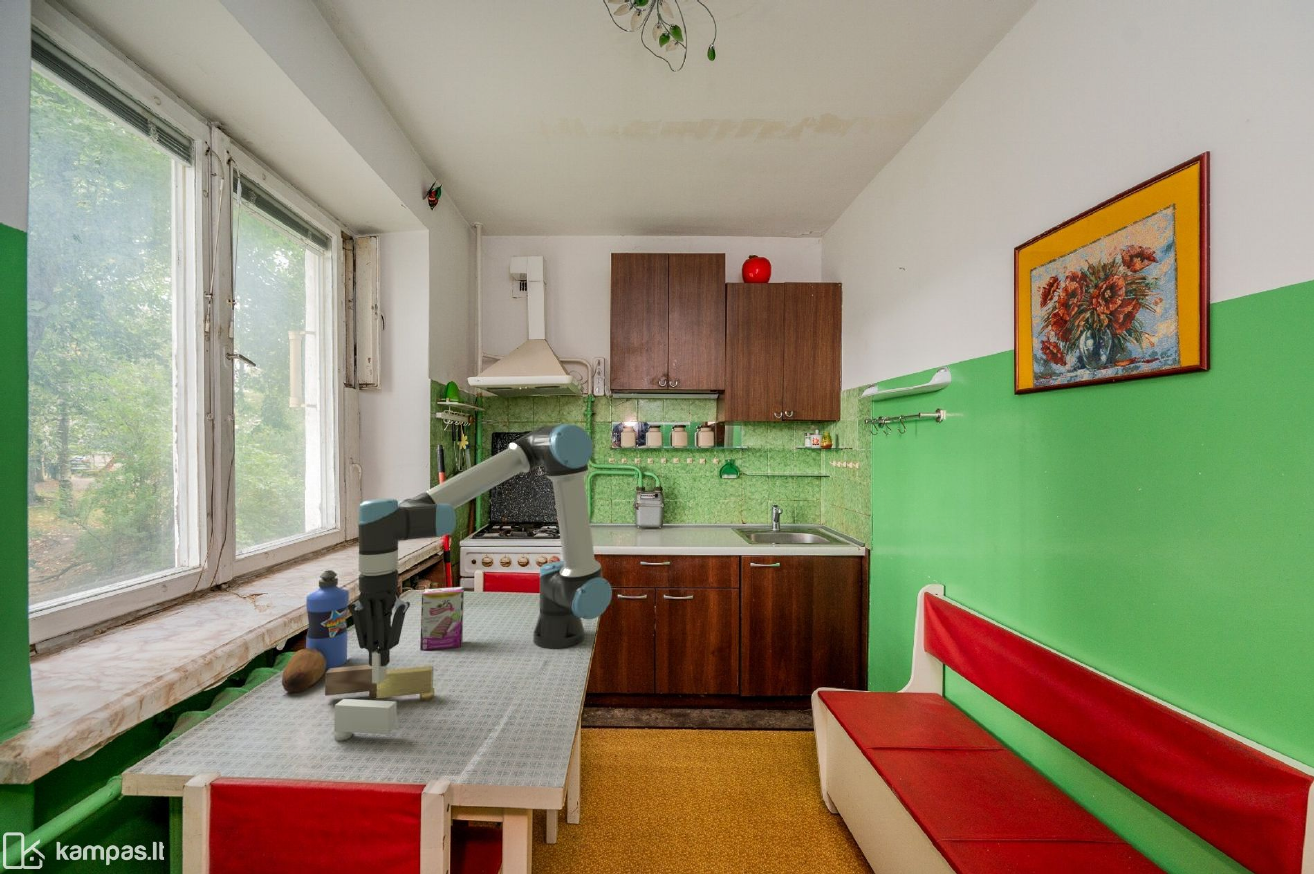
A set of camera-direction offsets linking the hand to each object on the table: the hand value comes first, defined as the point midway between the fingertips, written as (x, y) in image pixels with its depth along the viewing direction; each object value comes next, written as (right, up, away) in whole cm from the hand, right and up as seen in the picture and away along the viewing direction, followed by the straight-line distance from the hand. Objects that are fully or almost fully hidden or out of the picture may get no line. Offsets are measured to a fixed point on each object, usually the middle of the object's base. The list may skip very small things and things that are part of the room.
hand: (379, 680), depth 108 cm
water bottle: (-27, -8, +23) cm, 36 cm away
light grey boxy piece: (+3, -6, -11) cm, 13 cm away
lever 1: (-8, -6, +5) cm, 11 cm away
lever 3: (+4, -6, +4) cm, 8 cm away
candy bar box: (-2, -8, +37) cm, 38 cm away
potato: (-24, -8, +12) cm, 28 cm away
